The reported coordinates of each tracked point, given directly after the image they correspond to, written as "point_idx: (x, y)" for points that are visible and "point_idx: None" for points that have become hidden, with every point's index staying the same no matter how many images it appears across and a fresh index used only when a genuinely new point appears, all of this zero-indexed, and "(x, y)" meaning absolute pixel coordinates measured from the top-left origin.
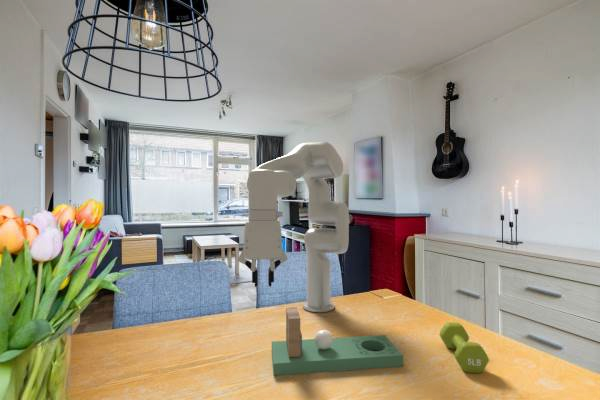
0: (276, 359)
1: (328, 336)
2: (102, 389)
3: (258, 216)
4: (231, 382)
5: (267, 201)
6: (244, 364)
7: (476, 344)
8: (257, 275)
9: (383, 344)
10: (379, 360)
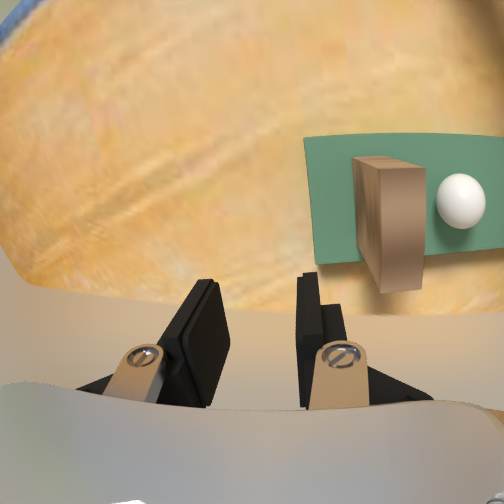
0: (323, 245)
1: (475, 223)
2: (41, 276)
3: None
4: (223, 273)
5: None
6: (236, 202)
7: None
8: (207, 344)
9: None
10: None
